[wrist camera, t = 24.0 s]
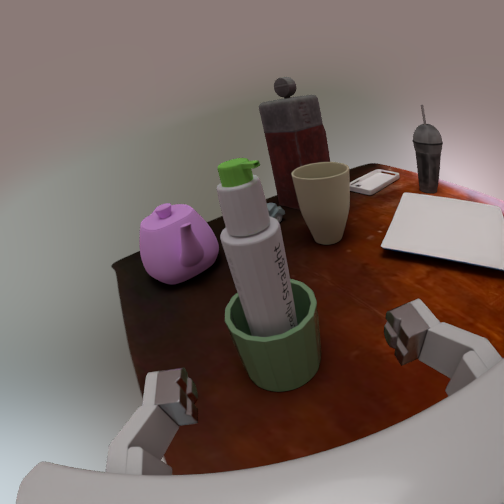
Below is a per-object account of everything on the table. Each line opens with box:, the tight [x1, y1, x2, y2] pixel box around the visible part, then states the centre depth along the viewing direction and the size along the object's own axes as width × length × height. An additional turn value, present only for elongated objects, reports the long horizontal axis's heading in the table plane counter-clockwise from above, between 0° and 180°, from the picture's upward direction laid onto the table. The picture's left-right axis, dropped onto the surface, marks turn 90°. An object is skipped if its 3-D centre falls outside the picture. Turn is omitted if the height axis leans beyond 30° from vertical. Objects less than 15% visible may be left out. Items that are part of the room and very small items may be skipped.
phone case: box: [350, 169, 399, 195], centre depth 64 cm, size 7×1×15 cm
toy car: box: [267, 203, 285, 223], centre depth 56 cm, size 6×10×5 cm, turn 127°
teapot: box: [140, 203, 219, 284], centre depth 46 cm, size 20×13×12 cm, turn 36°
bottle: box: [217, 158, 298, 337], centre depth 23 cm, size 4×4×20 cm
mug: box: [292, 162, 350, 245], centre depth 45 cm, size 11×10×12 cm
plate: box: [381, 193, 504, 271], centre depth 39 cm, size 22×22×2 cm
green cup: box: [225, 279, 321, 392], centre depth 26 cm, size 8×8×8 cm
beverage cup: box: [413, 105, 443, 193], centre depth 50 cm, size 7×7×20 cm
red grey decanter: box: [259, 77, 330, 210], centre depth 57 cm, size 9×11×28 cm
